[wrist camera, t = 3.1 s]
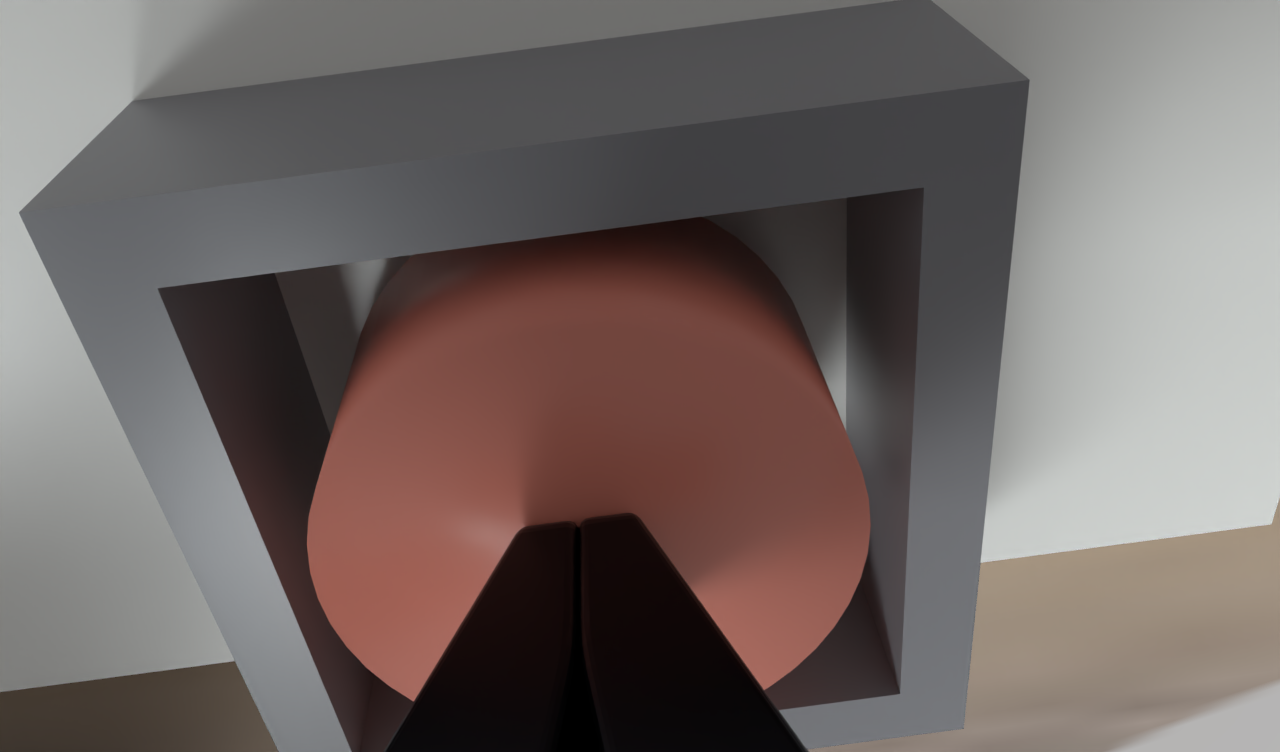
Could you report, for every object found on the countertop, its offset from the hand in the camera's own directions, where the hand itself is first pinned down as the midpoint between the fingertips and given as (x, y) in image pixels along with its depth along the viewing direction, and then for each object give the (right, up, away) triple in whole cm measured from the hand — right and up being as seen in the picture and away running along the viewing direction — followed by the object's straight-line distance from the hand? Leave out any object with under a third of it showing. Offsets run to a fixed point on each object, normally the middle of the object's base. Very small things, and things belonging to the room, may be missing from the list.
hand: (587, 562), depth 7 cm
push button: (0, +1, +2) cm, 2 cm away
